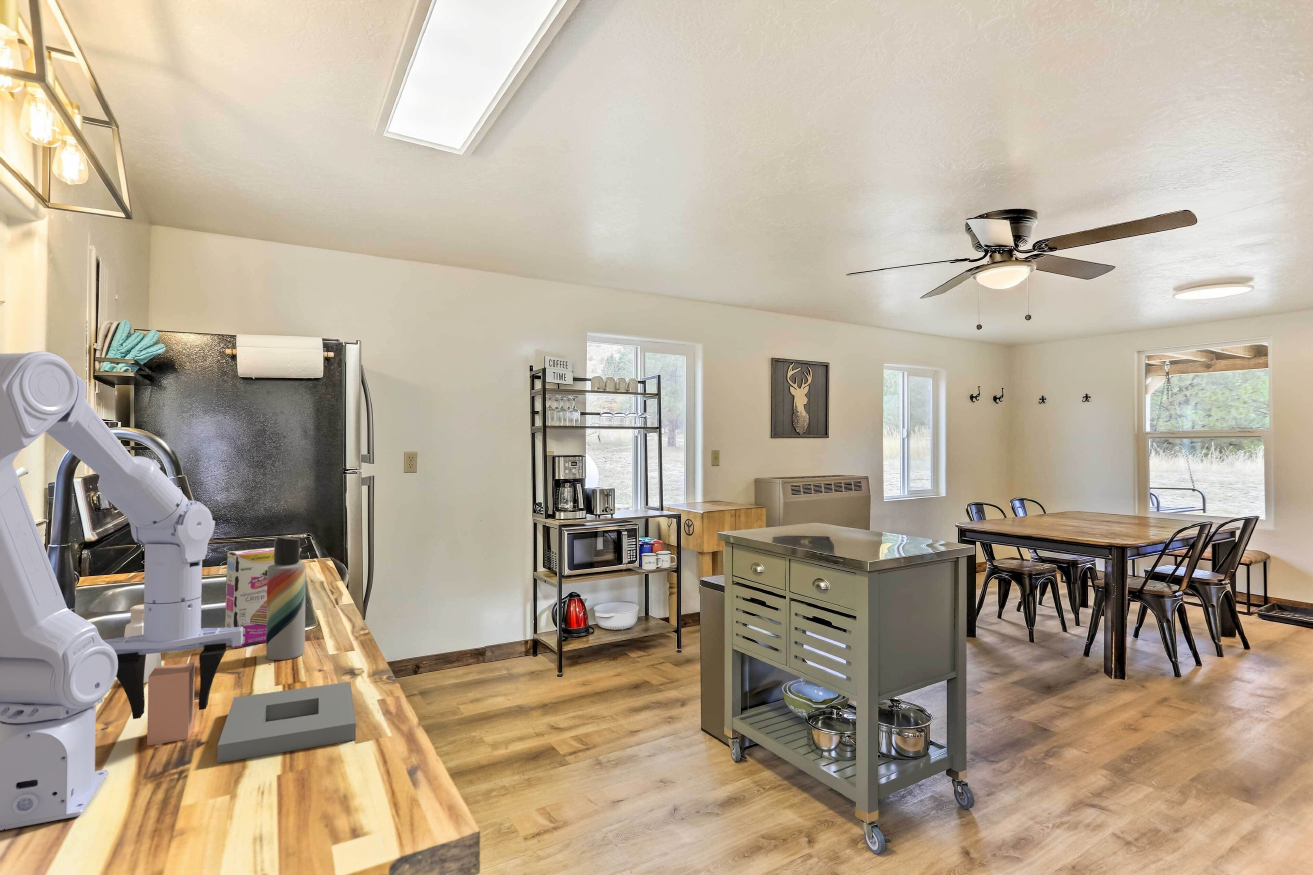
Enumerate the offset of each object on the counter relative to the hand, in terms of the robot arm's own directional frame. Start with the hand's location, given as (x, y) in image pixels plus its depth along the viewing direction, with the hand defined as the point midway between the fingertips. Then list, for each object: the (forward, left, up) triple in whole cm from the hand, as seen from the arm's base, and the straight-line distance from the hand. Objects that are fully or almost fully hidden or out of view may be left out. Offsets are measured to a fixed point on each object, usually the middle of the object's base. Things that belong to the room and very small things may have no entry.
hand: (171, 711), depth 83 cm
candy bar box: (+42, -7, -3) cm, 43 cm away
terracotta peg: (0, 0, -3) cm, 3 cm away
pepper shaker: (+26, +8, -3) cm, 27 cm away
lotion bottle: (+30, -11, -3) cm, 32 cm away
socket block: (-3, -13, -3) cm, 14 cm away
